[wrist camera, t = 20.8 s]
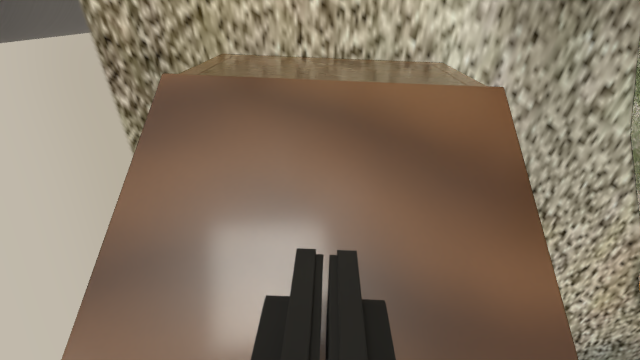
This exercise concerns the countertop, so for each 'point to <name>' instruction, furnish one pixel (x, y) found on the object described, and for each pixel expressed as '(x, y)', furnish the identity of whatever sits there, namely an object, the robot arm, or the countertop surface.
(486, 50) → the countertop surface
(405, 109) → the chest lid
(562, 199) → the countertop surface
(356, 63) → the chest
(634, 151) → the grocery bag
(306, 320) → the robot arm
